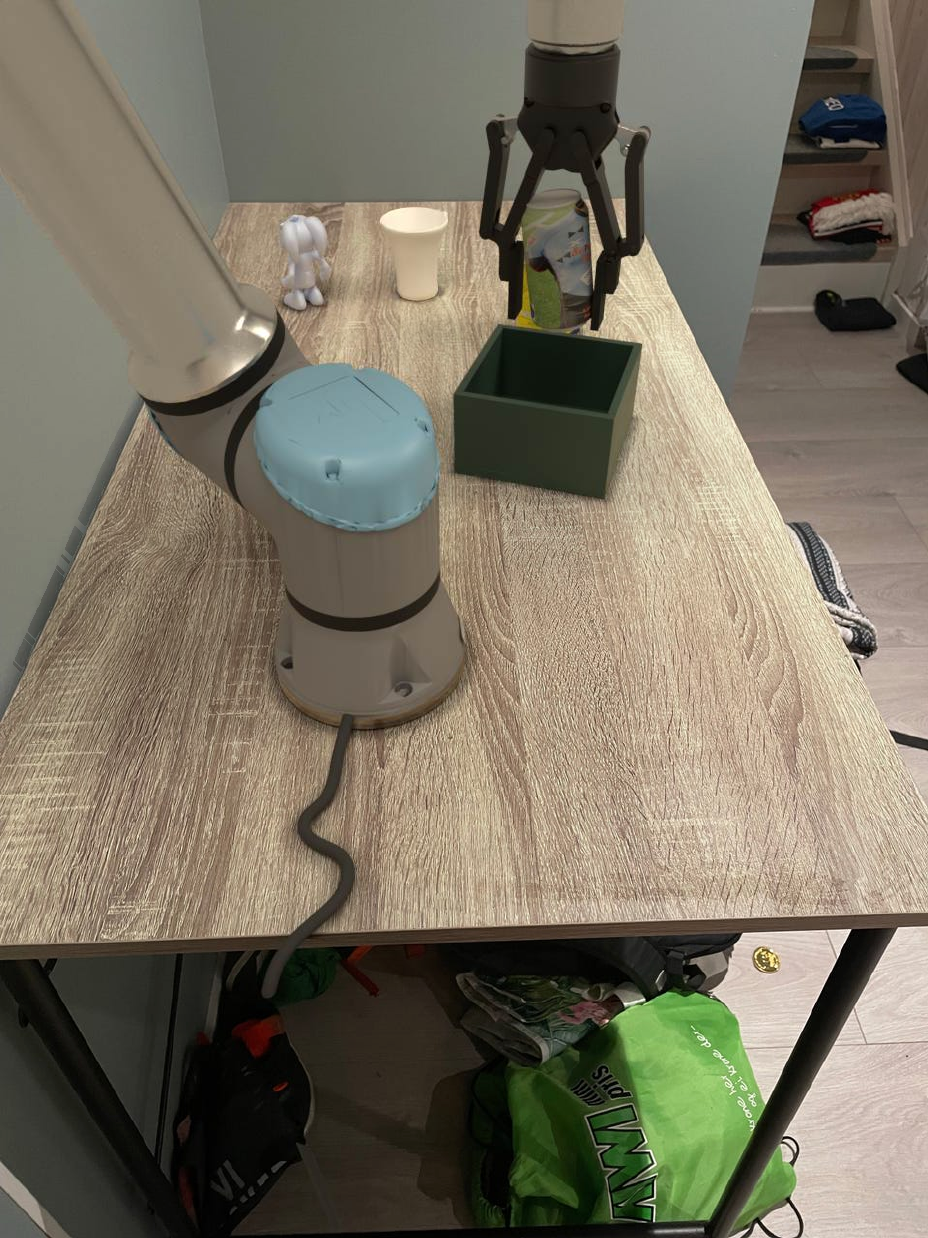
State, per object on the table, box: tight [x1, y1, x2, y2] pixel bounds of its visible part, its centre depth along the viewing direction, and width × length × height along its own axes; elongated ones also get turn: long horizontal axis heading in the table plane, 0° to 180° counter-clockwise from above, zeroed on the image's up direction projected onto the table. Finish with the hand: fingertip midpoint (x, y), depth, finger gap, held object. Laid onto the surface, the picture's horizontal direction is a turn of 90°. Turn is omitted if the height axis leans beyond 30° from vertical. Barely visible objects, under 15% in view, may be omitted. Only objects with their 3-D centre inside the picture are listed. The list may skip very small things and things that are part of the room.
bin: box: [452, 323, 643, 500], centre depth 94 cm, size 16×16×9 cm
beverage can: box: [520, 188, 594, 332], centre depth 84 cm, size 6×7×12 cm
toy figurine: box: [278, 214, 332, 311], centre depth 118 cm, size 7×6×12 cm
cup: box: [379, 206, 449, 302], centre depth 122 cm, size 9×9×10 cm
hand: (555, 318), depth 87 cm, fingers closed on beverage can, 7 cm apart
